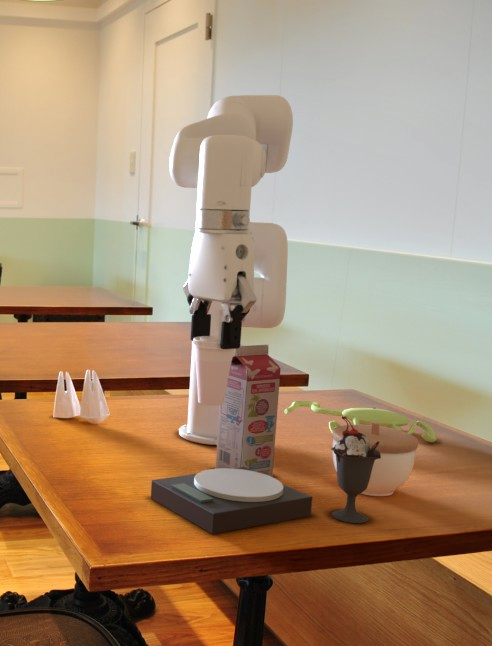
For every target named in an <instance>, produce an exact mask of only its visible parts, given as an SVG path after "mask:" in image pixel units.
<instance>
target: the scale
mask: <svg viewBox="0 0 492 646" xmlns="http://www.w3.org/2000/svg"><path fill="white" fill-rule="evenodd" d="M150 485H151V486H150V499H151V500H152V501H155V502H156V503H158V504H159V505H161V506H163V507H164V508H166V509H168V510H170V511H171V512H173V513H175V514H176V515H178V516H180V517H182V518H183V519H186V520H187V521H189V522H191V523H192V524H194V525H196V526H198V527H200V528H201V529H203V530H204V531H206V532H208V533H210V534H212V535H214V534H221V533H225V532H226V533H227V532H232V531H236V530H237V531H238V530H243V529H247V528H252V527H257V526H258V527H259V526H265V525H269V524H274V523H281V522H285V521H291V520H295V519H301V518H306V517H311V516H312V505H313V504H312V503H313V496H312V495H309V494H307V493H305V492H303V491H301V490H298V489H296V488H293V487H291V486H288V485H286V484H284V483H282V482H281V481H280V480H279V479H277V478H275V477H273V476H272V477H271V476H268V475H265V474H262V473H259V472H255V471H252V470H250V469H248V468H245V467H239V468H233V469H232V468H219V469H216V468H211V469H210V468H209V469H205V470H201V471H199V472H198V473H192V474H191V473H190V474H185V475H177V476H171V477H165V478H158V479H157V478H156V479H152V480H151V484H150Z"/></svg>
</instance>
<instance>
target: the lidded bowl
mask: <svg viewBox="0 0 492 646" xmlns="http://www.w3.org/2000/svg"><path fill="white" fill-rule="evenodd" d="M351 425H352V426H353V428H354V429H356V430H358V432H359V433H362V434H364V435H365V436H366V437H367V438H369V441H370V447H372V446H373V445H375V443H377V442H378V441H379V444H378V446H377V447H376V450H378V451H379V452H380V454H381V458H380V459H376V460H375V461H374V465H373V468H372V472H371V476H370V480H369V483H368V486H367V489H366V490H365V491H363V492H362V493H360V494H361V495H365V496H370V497H388V496H393V494H394V492H395V491H397V490H398V489H400V488H401V487H402V486H404V484H405V483H406V482H407V481H408V480H409V478H410V476H411V475H412V472H413V469H414V466H415V461H416V454H417V449H418V446H419V440H418V438H417V437H416V436H415V435H413V434H409V433H407V432H406V431H404V430H402V429H401V430H397V429H393V428H388V427H382V426H380V423H378V422H372V425H366V424H362V423H360V424H354V423H353V424H352V423H351ZM351 425H350V424H348V431H350V430H351V429H352V427H351ZM346 429H347V424H343V425H340V426H338V427H334V430H333V434H332V433H331V435H332V436H331V437H332V448H333V447H335V445H336V444H337V442H338V440H339V439H341V438H342V437H343V435H342V432H343V431H346ZM331 452H332V453H331V454H332V462H333V466H334V470H335V472H336V473H337V462H336V454H334V451H333V450H331ZM360 494H359V495H360Z"/></svg>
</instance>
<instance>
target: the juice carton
mask: <svg viewBox="0 0 492 646" xmlns="http://www.w3.org/2000/svg"><path fill="white" fill-rule="evenodd" d="M280 382H281V367H280V365H279V364H278V362H276V361H275V360H274V359H273V358H272V357H271V356H270V355H269V344H257V345H256V344H254V345H241V346H240V348H238V349H235V356H234V357H232V362H231V367H230V372H229V377H228V382H227V387H226V392H225V398H224V403H223V404H222V405H220V407H219V423H218V438H217V445H216V456H215V469H219V468H232V469H233V468H239V467H245V468H248V469H250V470H252V471H255V472H259V473H262V474H265V475H268V476H271V477H273V474H274V472H273V471H274V462H275V461H274V459H275V447H276V435H277V421H278V409H279V408H278V406H279V395H280Z"/></svg>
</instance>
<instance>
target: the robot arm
mask: <svg viewBox="0 0 492 646" xmlns="http://www.w3.org/2000/svg"><path fill="white" fill-rule="evenodd" d="M293 115H294V114H293V110H292V107H291V105H290V103H289V101H288V99H286V98H285V97H284V96H281V95H277V94H260V95H257V94H256V95H255V94H254V95H252V94H251V95H249V94H248V95H244V94H243V95H229V96H226V97H221V98H220V99H218V100H217V101H215V103H213V105H212V106H211V108H210V109H209V112H208V113H207V117H206V118H205V119H202V120H200V121H196V122H194V123H193V122H192V123H190V124H188V125H186V126H184V127H182V128H180V130H179V131H178V132H177V134H176V136H175V138H174V140H173V143H172V147H171V151H170V155H169V162H168V163H169V175H170V178H171V179H172V182H173V183H174V184H175V185H176V186H178V187H181V188H187V189H197V195H196V196H197V197H196V198H197V199H196V213H195V214H196V215H195V231H194V236H193V240H192V245H191V251H190V258H189V267H188V279H187V281H186V282H185V284H184V285H183V287H182V290H183V292H184V295H185V297H186V301H187V304H188V306H189V314H190V315H191V320H190V321H191V322H190V341H191V356H190V357H191V358H190V372H189V373H190V374H189V389H188V390H189V391H188V409H187V424H184V425H181V426H179V428H178V435H179V436H180V437H181V438H182V439H184V440H186V441H189V442H193V443H196V444H201V445H208V446H209V445H210V446H217V438H218V423H219V407H220V405H217V406H212V405H204V404H201V403H199V402H198V390H197V374H196V359H195V346H193V345H192V344H193V338H195V337H199V336H217V326H218V311H219V310H221V311H222V323H221V340H220V348H221V349H234V351H233V357H234V356H235V349H238V348H240V346H242V345H241V341H242V328H255V329H272V328H273V329H274V328H277V327H278V326H280V324H282V322H283V320H284V317H285V313H286V304H287V282H288V281H287V279H288V259H289V254H288V253H289V250H288V249H289V248H288V247H289V244H288V237H287V233H286V231H285V229H284V228H283V226H282V225H279V224H277V223H273V222H255V221H251V220H250V217H251V201H252V188H253V187H255V186H256V185H258V184H259V182H260V181H261V179H263V178H264V176H265V174H272V173H278V172H280V171H281V170H282V169H283V168H284V167H285V166H286V163H287V161H288V157H289V153H290V145H291V139H292V134H293V127H294V126H293V125H294V117H293ZM255 273H257V274H259V276H260V277H259V276H257V277H256V276H255Z"/></svg>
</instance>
